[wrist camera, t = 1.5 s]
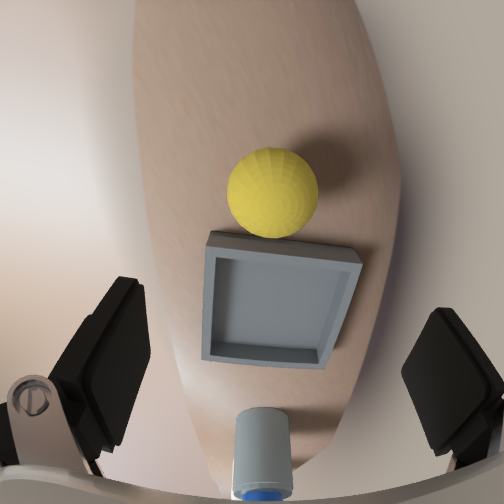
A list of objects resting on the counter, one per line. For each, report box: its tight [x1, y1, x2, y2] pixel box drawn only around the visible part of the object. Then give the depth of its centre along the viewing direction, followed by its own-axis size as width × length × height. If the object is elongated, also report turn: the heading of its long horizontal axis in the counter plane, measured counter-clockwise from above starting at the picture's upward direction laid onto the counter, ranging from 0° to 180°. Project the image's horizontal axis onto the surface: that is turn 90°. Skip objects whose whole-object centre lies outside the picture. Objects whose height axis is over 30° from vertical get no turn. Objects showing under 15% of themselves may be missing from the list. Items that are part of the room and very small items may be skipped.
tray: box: [201, 231, 363, 369], centre depth 33 cm, size 15×15×4 cm
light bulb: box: [227, 147, 319, 238], centre depth 23 cm, size 7×7×10 cm
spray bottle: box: [232, 407, 293, 501], centre depth 35 cm, size 9×9×25 cm
